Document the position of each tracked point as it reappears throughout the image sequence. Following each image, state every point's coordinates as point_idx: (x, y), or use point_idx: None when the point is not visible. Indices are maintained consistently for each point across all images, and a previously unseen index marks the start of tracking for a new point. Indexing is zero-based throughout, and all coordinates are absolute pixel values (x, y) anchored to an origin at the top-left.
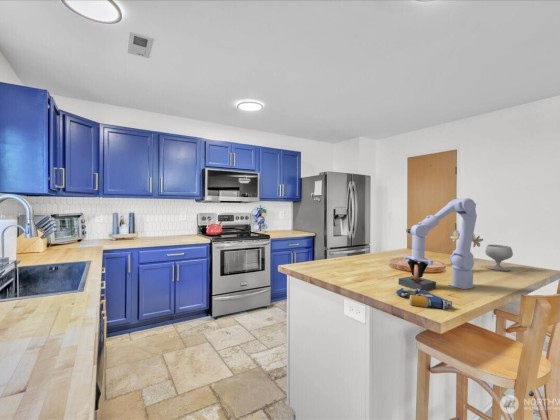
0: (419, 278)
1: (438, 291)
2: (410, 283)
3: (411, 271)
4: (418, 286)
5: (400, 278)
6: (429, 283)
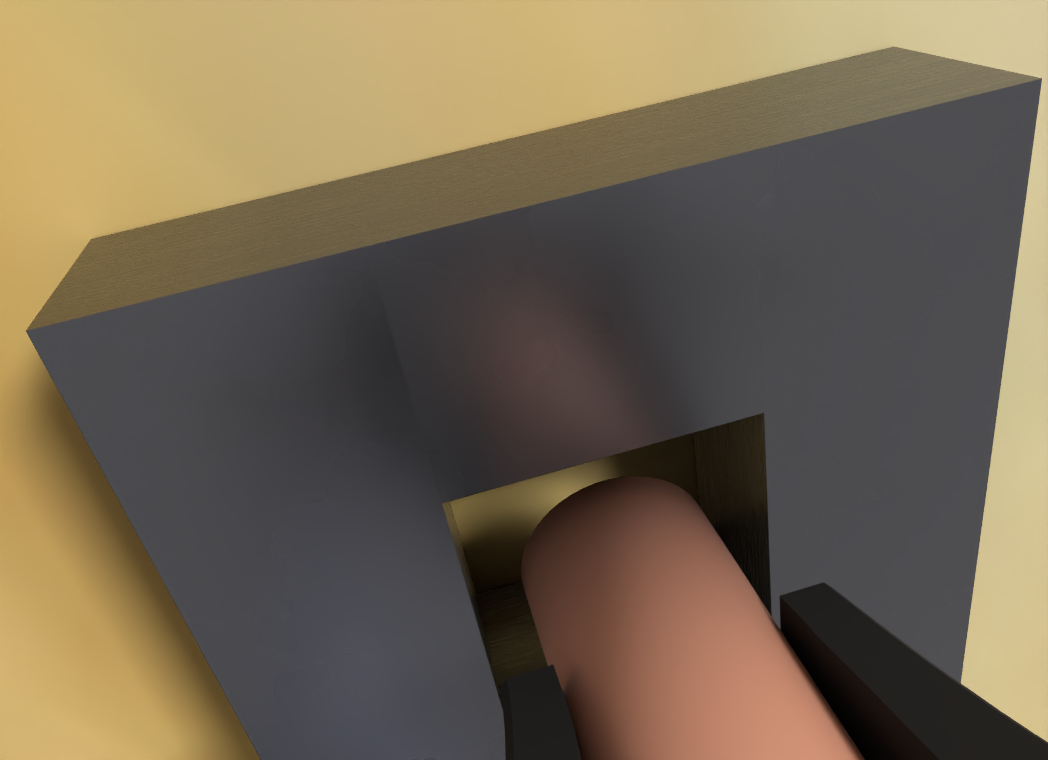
0: (545, 654)
1: (68, 693)
2: (490, 191)
3: (934, 676)
4: (139, 269)
5: (1001, 152)
6: (243, 721)
